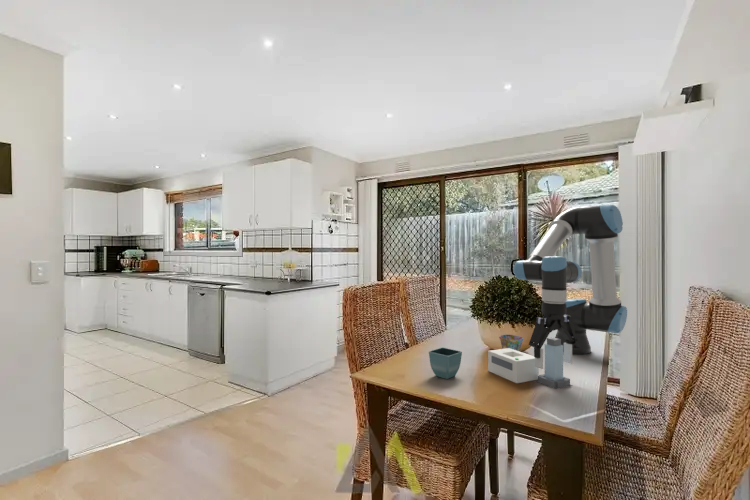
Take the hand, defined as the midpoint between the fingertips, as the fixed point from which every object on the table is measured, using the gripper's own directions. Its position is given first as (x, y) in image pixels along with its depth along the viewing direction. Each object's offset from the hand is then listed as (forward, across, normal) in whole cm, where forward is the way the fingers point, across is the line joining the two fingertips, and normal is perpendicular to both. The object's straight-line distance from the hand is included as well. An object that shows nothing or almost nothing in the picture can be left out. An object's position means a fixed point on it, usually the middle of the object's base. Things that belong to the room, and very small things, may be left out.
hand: (553, 365), depth 124 cm
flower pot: (+7, +28, -22) cm, 37 cm away
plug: (+6, 0, 0) cm, 6 cm away
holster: (+7, 0, 0) cm, 7 cm away
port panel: (+7, +6, -12) cm, 15 cm away
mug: (+7, -4, -25) cm, 26 cm away
